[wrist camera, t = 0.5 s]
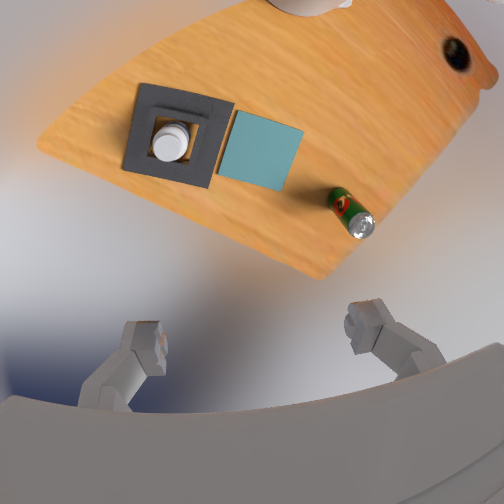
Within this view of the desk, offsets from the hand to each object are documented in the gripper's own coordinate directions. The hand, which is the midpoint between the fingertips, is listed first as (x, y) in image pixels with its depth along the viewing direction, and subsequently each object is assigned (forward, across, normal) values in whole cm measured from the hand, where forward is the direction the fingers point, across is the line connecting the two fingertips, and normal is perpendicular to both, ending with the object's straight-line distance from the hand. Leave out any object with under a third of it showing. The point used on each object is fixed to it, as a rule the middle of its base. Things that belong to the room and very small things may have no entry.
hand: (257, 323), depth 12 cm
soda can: (+42, -22, +13) cm, 49 cm away
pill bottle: (+42, +8, 0) cm, 43 cm away
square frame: (+42, +8, 0) cm, 43 cm away
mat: (+42, -6, +4) cm, 43 cm away
